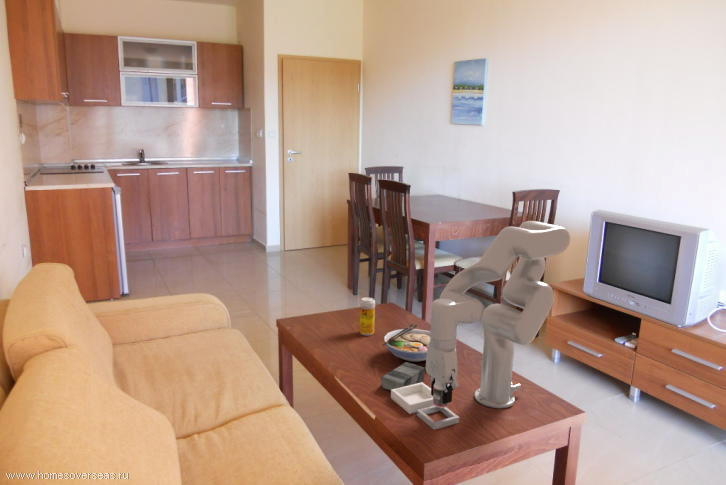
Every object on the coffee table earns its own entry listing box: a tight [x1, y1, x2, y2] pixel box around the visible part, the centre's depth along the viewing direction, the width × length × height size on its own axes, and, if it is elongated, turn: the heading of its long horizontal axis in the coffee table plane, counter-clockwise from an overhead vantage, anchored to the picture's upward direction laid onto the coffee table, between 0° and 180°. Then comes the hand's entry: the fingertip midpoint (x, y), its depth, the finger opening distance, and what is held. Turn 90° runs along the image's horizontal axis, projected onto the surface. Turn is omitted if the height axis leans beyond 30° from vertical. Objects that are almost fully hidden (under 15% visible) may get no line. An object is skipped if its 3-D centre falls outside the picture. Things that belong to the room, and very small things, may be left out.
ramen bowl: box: [382, 323, 430, 363], centre depth 207 cm, size 25×23×8 cm
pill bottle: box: [433, 379, 450, 408], centre depth 164 cm, size 5×5×8 cm
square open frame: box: [416, 405, 460, 431], centre depth 165 cm, size 9×9×2 cm
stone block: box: [381, 361, 426, 392], centre depth 186 cm, size 9×14×5 cm, turn 141°
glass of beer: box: [359, 296, 376, 337], centre depth 229 cm, size 6×6×15 cm
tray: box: [390, 381, 434, 415], centre depth 174 cm, size 12×11×3 cm
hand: (441, 397), depth 164 cm, fingers closed on pill bottle, 4 cm apart
